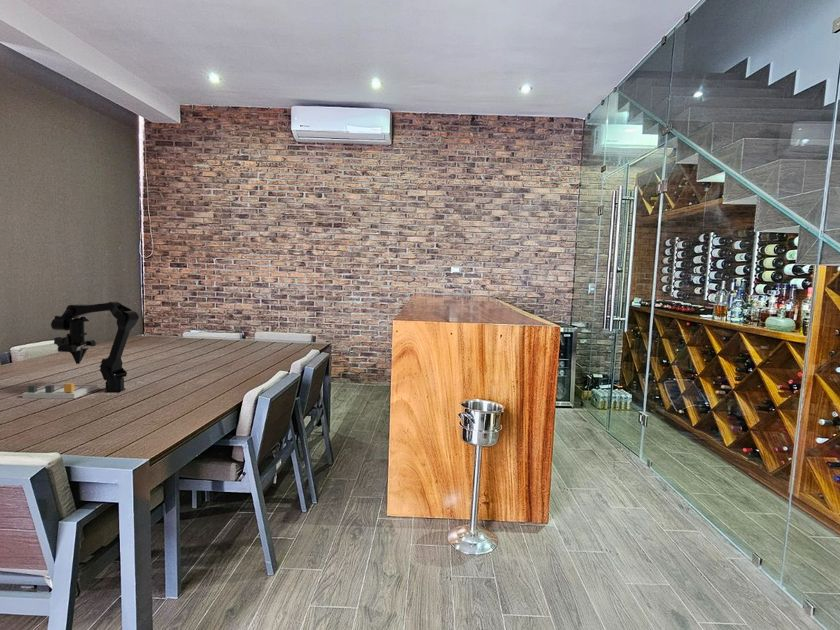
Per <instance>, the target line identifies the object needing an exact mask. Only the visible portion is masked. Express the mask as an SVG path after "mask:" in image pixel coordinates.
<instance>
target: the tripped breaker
mask: <svg viewBox="0 0 840 630" xmlns="http://www.w3.org/2000/svg"><path fill="white" fill-rule="evenodd" d="M63 384H64V392H73V391H74V384H75V383H74V382H66V383H63Z"/></svg>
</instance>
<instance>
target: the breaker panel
mask: <svg viewBox="0 0 840 630" xmlns="http://www.w3.org/2000/svg"><path fill="white" fill-rule="evenodd" d="M64 384H65V383H48V384H45V385H42V386H40V387H38V384H29V385H27V391H25V392H23V393H22V399H76V398H78V397H81V396H84V395H85V394H88V393H90V392H93V391H96V390H97V389H98V384H91V383H90V384H87V383H85V384H81V383H79V384H77V383H74V391H73V392H64Z"/></svg>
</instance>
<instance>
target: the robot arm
mask: <svg viewBox="0 0 840 630" xmlns="http://www.w3.org/2000/svg"><path fill="white" fill-rule="evenodd" d="M107 311H108V312H110V313H111V315H112V316H113V317H114V318H115V319H116V325H117V331H116V334H115V337H114V341H113V343H112V346H111V349H110V352H109V354H108V357H106V358H102V360H101V361H100V362H101V363H100V365H99V366H98V367H99V372H100V373H101V375H102V378H103V381H105V383H104V384H105V391H104V393H107V394H108V393H111V394H115V393H117V394H119V393H122V392H124V391H125V389H126V390H127V388H125V377H127V375H128V371H127V370H125V369H124V368H123V360H122V356H123V352H124V351H125V348H126V344H127V340H128V337H129V335H130V333H131V330H132V329H133V328H135V326H136V324H137V323H138V322H139V317H140V316H139V314H138V312H136V311H135V310H132V309H131V308H130V307H128V306H126V305H123V304H122V303H121V302H119V301H110V302H109V301H108V302H103V303H96V304H83V303H78V304H68V305H67V307H66V308H65V311H64V312H63V314H62V315H55V316H54V318H53V319H52V321H51V323H50V326H51V328H52V330H54V331H65V332H66V331H68V333H67V334H66V336H64V337H61V336H58V337H54V341H53V344H54V345H57V352H58V353H70V354H71V356H72V358H73V359H74V363H76V365H79V364H81V362H82V360H83V358H84V356H86V355H85V354H86V353H87V352H88V350H89V348H88V347H86V346H90V347H95V346H97V343H96V341H95V340H94V339H85V338H86V337H85V336H86V335H87V334H88V333H87V332H85V323H87V322H90V320H89V319H88V318H87V317H85V316H88V315H90V314H92V313H98V312H107ZM123 390H124V391H123ZM121 391H122V392H121Z"/></svg>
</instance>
